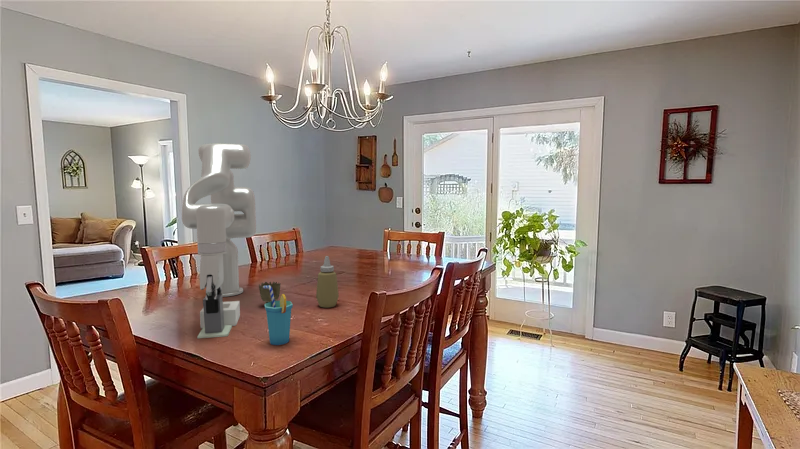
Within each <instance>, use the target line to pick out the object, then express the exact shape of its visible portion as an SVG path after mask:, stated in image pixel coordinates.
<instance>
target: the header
mask: <svg viewBox="0 0 800 449" xmlns="http://www.w3.org/2000/svg"><path fill="white" fill-rule="evenodd" d="M240 309H241V304H240V300H234V301H232V300H231V301H223V313H224V326H225V325H232V327H234V326H235V327H236V326H237V325H238V321H239V319H240V317H241V310H240ZM199 321H200V326H199V327H200V329H202V328H203V327H205V322H204V309H203V308H202V309H201V310H200V311H199Z"/></svg>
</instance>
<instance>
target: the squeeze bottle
mask: <svg viewBox="0 0 800 449" xmlns="http://www.w3.org/2000/svg"><path fill="white" fill-rule="evenodd" d="M334 270H335V268H334V265H331V260H330V256H329V255H325V257H324V261H323V265H321V266H320V272H318V274H317V279H316V280H317V282H316V294H315V298H316V300H317V304H318V306H319V307H320V308H326V309H327V308H333V307H336V305H337V302H338V299H339V296H340V295H339V287H338V275H337V273H336V271H334Z"/></svg>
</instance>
